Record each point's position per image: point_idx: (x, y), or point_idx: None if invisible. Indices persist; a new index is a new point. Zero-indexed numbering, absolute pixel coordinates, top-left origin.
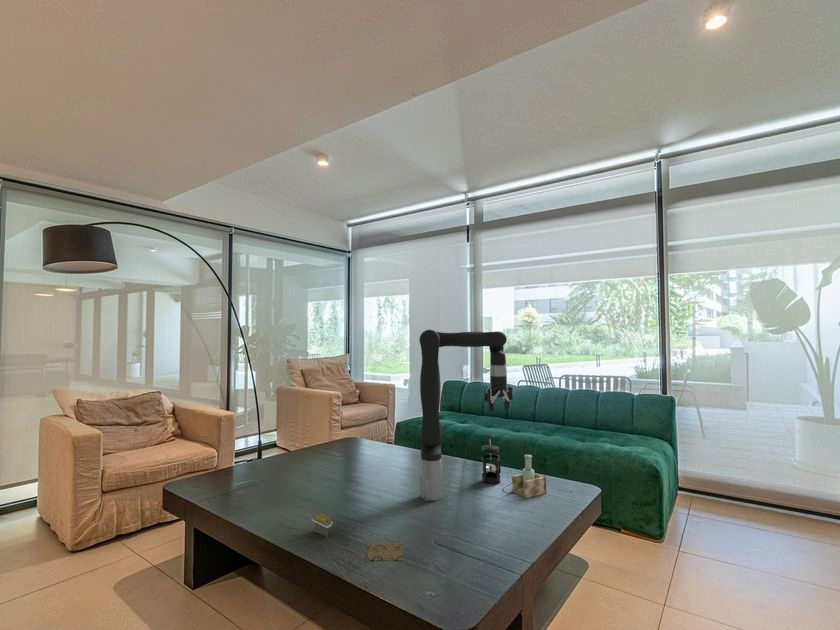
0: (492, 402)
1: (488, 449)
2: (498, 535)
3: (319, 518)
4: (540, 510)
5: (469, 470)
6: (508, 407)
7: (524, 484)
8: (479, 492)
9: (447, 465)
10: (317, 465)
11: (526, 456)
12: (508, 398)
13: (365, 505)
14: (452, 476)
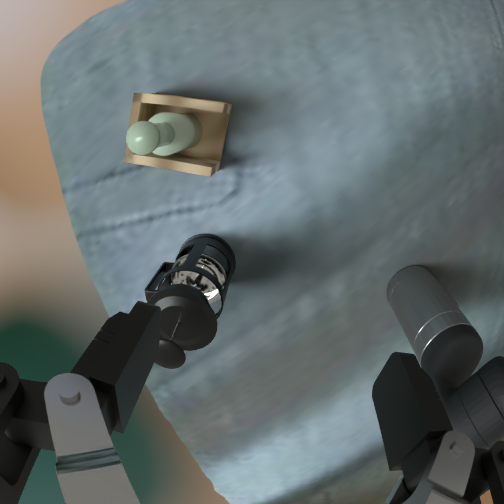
0: (461, 438)
1: (210, 309)
2: (464, 45)
3: None
4: (281, 28)
5: None
6: (117, 322)
7: (224, 111)
8: (302, 228)
9: (208, 396)
10: (379, 479)
11: (157, 133)
12: (55, 423)
13: (494, 332)
14: (258, 350)
